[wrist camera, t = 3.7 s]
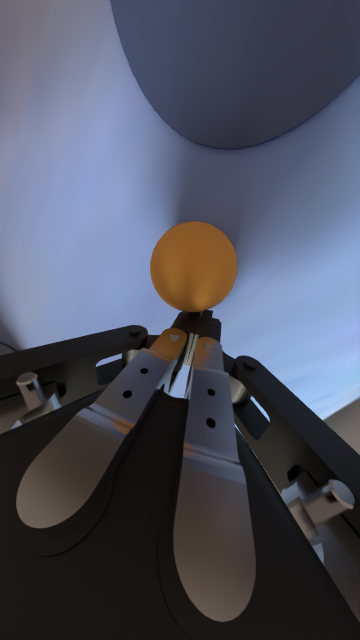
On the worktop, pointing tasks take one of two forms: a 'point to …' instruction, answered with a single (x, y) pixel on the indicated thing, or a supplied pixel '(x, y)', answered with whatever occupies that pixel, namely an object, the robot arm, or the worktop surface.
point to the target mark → (239, 62)
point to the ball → (193, 266)
